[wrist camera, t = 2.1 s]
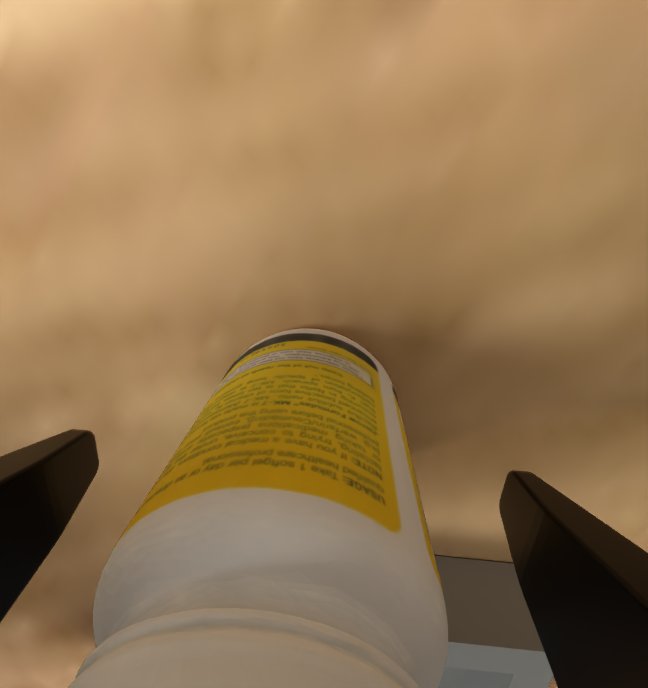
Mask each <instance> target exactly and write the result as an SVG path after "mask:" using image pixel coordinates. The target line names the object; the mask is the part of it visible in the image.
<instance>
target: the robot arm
mask: <svg viewBox="0 0 648 688" xmlns="http://www.w3.org/2000/svg"><path fill="white" fill-rule="evenodd" d="M98 466H99V459H98V453H97V447H96V441H95V436H94V434H93V433H92V432H91V431H88V430H77V429H72V430H68V431H66V432H63V433H61V434H58V435H55V436H53V437H50V438H48V439H45V440H43V441H40V442H37V443H35V444H32V445H30V446H27V447H24V448H22V449H19V450H17V451H14V452H11V453H9V454H6V455H4V456H1V457H0V622H1V621H2V620H3V618H4V617H5V615H6V614H7V612H8V611H9V610H10V608H11V607H12V605H13V604H14V602H15V601H16V600H17V598H18V597H19V595H20V594H21V592H22V591H23V590H24V588H25V587H26V585H27V584H28V582H29V581H30V580H31V578H32V577H33V575H34V574H35V572H36V571H37V570H38V568H39V567H40V565H41V564H42V562H43V561H44V560H45V558H46V557H47V555H48V554H49V552H50V551H51V550H52V548H53V547H54V545H55V544H56V542H57V540H58V539H59V537H60V536H61V534H62V533H63V531H64V529H65V528H66V526H67V524H68V522H69V521H70V519H71V517H72V515H73V514H74V512H75V510H76V508H77V507H78V505H79V503H80V501H81V500H82V498H83V496H84V494H85V493H86V491H87V489H88V487H89V485H90V484H91V482H92V480H93V478H94V477H95V475H96V473H97V470H98ZM499 509H500V514H501V518H502V522H503V525H504V529H505V533H506V537H507V541H508V544H509V548H510V552H511V556H512V559H513V563H514V567H515V571H516V574H517V578H518V581H519V584H520V587H521V590H522V593H523V596H524V599H525V601H526V604H527V607H528V609H529V612H530V615H531V617H532V620H533V622H534V625H535V628H536V630H537V633H538V636H539V638H540V641H541V644H542V646H543V649H544V652H545V654H546V657H547V660H548V662H549V665H550V668H551V670H552V673H553V676H554V678H555V681H556V683H557V686H558V688H648V553H647V552H646V551H644V550H643V549H641V548H640V547H638V546H637V545H635V544H634V543H633V542H631V541H630V540H628V539H627V538H625V537H624V536H622V535H621V534H620V533H618V532H617V531H615V530H614V529H612V528H611V527H609V526H608V525H607V524H605V523H604V522H602V521H601V520H599V519H598V518H596V517H595V516H594V515H592V514H591V513H589V512H588V511H586V510H585V509H583V508H582V507H580V506H579V505H578V504H576V503H575V502H573V501H572V500H570V499H569V498H567V497H566V496H565V495H563V494H562V493H560V492H559V491H557V490H556V489H554V488H553V487H552V486H550V485H549V484H547V483H546V482H544V481H543V480H541V479H540V478H539V477H537V476H536V475H534V474H533V473H531V472H526V471H515V470H512V471H510V472H509V473H508V475H507V477H506V481H505V484H504V488H503V491H502V494H501V498H500V503H499Z"/></svg>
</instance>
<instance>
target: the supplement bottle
mask: <svg viewBox="0 0 648 688" xmlns="http://www.w3.org/2000/svg"><path fill="white" fill-rule="evenodd" d="M93 633H94V638H95V644H96V649H94V650H93V651H92V652H91V653H90V654H89V655H88V656H87V658H86V659H85V661H84V663H83V664H82V666H81V667H80V669H79V671H78V673H77V675H76V678H75V680H74V681H73V682H72V683H71V685H70V686H69V687H68V688H438V686H439V683H440V681H441V678H442V675H443V672H444V668H445V663H446V658H447V653H448V622H447V613H446V606H445V601H444V596H443V591H442V586H441V581H440V576H439V573H438V570H437V566H436V562H435V557H434V553H433V549H432V545H431V540H430V536H429V532H428V528H427V524H426V519H425V515H424V511H423V507H422V502H421V498H420V493H419V489H418V485H417V481H416V476H415V472H414V468H413V464H412V459H411V455H410V451H409V447H408V442H407V437H406V434H405V429H404V425H403V421H402V416H401V413H400V409H399V404H398V400H397V396H396V393H395V390H394V387H393V384H392V382H391V380H390V377H389V376H388V374H387V372H386V371H385V369H384V368H383V366H382V365H381V364H380V363H379V362H378V360H377V359H376V358H375V357H374V356H372V355H371V354H370V353H369V352H368V351H367V350H366V349H364V348H363V347H362V346H360V345H359V344H357V343H356V342H354V341H352V340H351V339H349V338H347V337H345V336H342V335H340V334H337V333H334V332H330V331H326V330H321V329H309V328H301V329H292V330H286V331H282V332H279V333H276V334H273V335H270V336H268V337H266V338H264V339H262V340H260V341H258V342H257V343H255V344H254V345H252V346H251V347H250V348H249V349H247V350H246V351H245V352H244V353H243V354H242V355H241V356H240V357H239V358H238V359H237V360H236V361H235V363H234V364H233V365H232V366H231V367H230V369H229V370H228V371H227V373H226V375H225V376H224V378H223V380H222V381H221V383H220V385H219V386H218V388H217V389H216V391H215V392H214V394H213V396H212V397H211V399H210V400H209V402H208V403H207V405H206V406H205V407H204V409H203V411H202V412H201V414H200V415H199V417H198V418H197V420H196V421H195V423H194V425H193V426H192V428H191V429H190V431H189V432H188V434H187V436H186V437H185V439H184V440H183V442H182V443H181V445H180V446H179V448H178V449H177V451H176V453H175V454H174V456H173V457H172V459H171V460H170V462H169V463H168V465H167V466H166V468H165V470H164V471H163V473H162V474H161V476H160V477H159V479H158V480H157V482H156V483H155V485H154V487H153V488H152V490H151V491H150V493H149V494H148V496H147V497H146V499H145V500H144V502H143V504H142V505H141V507H140V508H139V510H138V511H137V513H136V514H135V516H134V517H133V519H132V520H131V522H130V524H129V525H128V527H127V528H126V530H125V531H124V533H123V534H122V536H121V537H120V539H119V540H118V542H117V543H116V545H115V546H114V548H113V550H112V552H111V554H110V557H109V559H108V561H107V563H106V565H105V567H104V569H103V572H102V574H101V577H100V580H99V583H98V585H97V589H96V594H95V599H94V604H93Z"/></svg>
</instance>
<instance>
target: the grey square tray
mask: <svg viewBox="0 0 648 688" xmlns="http://www.w3.org/2000/svg"><path fill="white" fill-rule="evenodd" d="M434 557H435V562H436V566H437V570H438V573H439V576H440V581H441V586H442V591H443V596H444V601H445V606H446V613H447V622H448V653H447V658H446V663H445V668H444V672H443V675H442V678H441V681H440V683H439V686H438V688H548V687H549V685H550V682H551V680H552V678H553V673H552V670H551V668H550V665H549V662H548V660H547V657H546V654H545V652H544V649H543V646H542V644H541V641H540V638H539V636H538V633H537V630H536V628H535V625H534V622H533V620H532V617H531V615H530V612H529V609H528V607H527V604H526V601H525V599H524V596H523V593H522V590H521V587H520V584H519V581H518V578H517V574H516V571H515V567H514V563H503V562H493V561H483V560H473V559H463V558H453V557H443V556H434Z"/></svg>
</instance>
